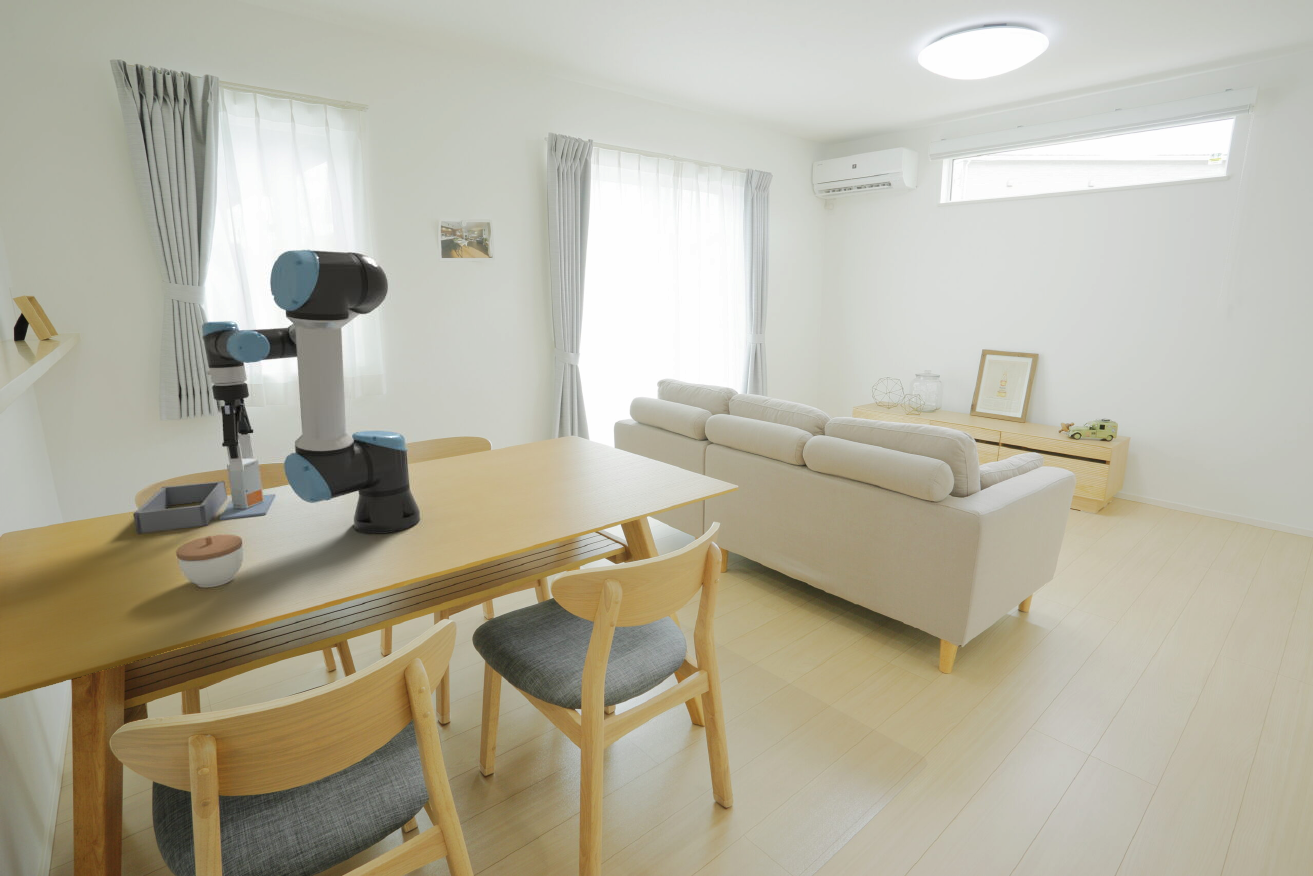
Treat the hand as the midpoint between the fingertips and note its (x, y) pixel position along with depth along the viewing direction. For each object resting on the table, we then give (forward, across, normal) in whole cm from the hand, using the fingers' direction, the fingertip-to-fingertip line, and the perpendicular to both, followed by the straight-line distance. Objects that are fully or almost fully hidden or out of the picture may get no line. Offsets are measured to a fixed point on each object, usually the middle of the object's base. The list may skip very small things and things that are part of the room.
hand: (243, 464), depth 164 cm
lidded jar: (+13, +46, +2) cm, 48 cm away
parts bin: (+12, 0, -14) cm, 19 cm away
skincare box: (+12, -1, 0) cm, 12 cm away
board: (+12, 0, 0) cm, 12 cm away
